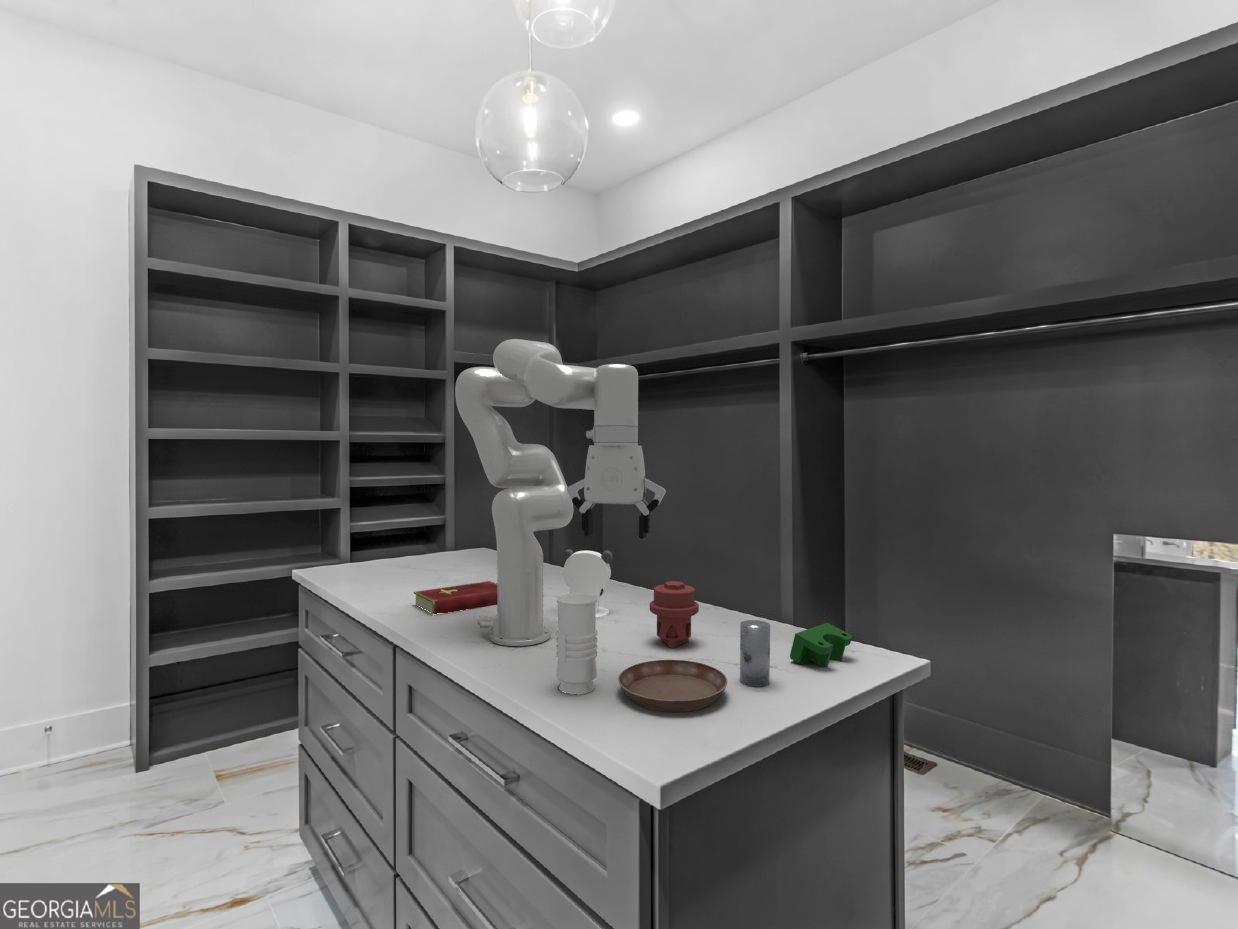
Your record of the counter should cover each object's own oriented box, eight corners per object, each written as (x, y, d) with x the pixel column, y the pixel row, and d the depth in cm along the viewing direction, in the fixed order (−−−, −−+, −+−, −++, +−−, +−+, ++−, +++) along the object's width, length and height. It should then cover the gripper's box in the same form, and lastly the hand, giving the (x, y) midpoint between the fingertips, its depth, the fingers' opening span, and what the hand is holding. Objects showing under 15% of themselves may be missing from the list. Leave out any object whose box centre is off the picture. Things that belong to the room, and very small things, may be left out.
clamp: (817, 691, 119) (817, 654, 115) (790, 674, 123) (789, 638, 119) (854, 655, 125) (855, 618, 121) (827, 640, 130) (827, 605, 125)
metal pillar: (741, 686, 109) (741, 627, 109) (738, 675, 114) (739, 619, 114) (771, 687, 109) (772, 628, 108) (767, 677, 114) (768, 620, 113)
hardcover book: (511, 604, 165) (511, 587, 165) (433, 617, 152) (432, 599, 152) (489, 595, 175) (489, 579, 175) (413, 607, 162) (413, 590, 162)
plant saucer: (647, 727, 94) (647, 706, 94) (601, 685, 110) (602, 667, 110) (749, 707, 101) (749, 688, 101) (692, 670, 118) (692, 654, 117)
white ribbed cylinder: (547, 688, 108) (547, 598, 108) (577, 677, 113) (577, 591, 113) (575, 699, 103) (575, 606, 103) (605, 687, 109) (606, 598, 108)
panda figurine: (614, 607, 161) (614, 547, 160) (608, 620, 149) (608, 555, 149) (566, 606, 162) (566, 546, 161) (557, 618, 151) (557, 554, 150)
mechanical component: (700, 637, 137) (696, 652, 127) (653, 634, 139) (645, 648, 129) (700, 579, 136) (696, 589, 126) (653, 577, 138) (646, 587, 128)
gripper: (561, 437, 110) (560, 537, 110) (661, 437, 106) (661, 541, 106) (574, 437, 117) (574, 531, 118) (669, 437, 113) (668, 535, 114)
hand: (615, 536), depth 112 cm, fingers open, 9 cm apart
